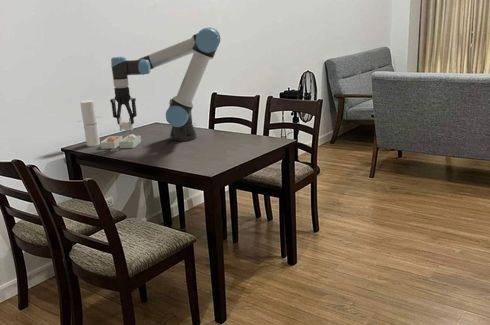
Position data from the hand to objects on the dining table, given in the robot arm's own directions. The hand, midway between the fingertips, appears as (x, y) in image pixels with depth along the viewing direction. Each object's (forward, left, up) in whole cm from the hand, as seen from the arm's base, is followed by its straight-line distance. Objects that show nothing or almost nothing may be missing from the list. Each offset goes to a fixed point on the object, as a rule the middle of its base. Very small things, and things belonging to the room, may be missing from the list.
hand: (126, 130), depth 264 cm
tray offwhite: (+10, -3, -10) cm, 14 cm away
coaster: (+5, +8, -10) cm, 13 cm away
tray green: (0, -3, -10) cm, 10 cm away
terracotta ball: (+10, -3, -9) cm, 14 cm away
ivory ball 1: (0, 0, 0) cm, 0 cm away
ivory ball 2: (0, -6, -9) cm, 11 cm away
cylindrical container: (+22, -5, -10) cm, 25 cm away
